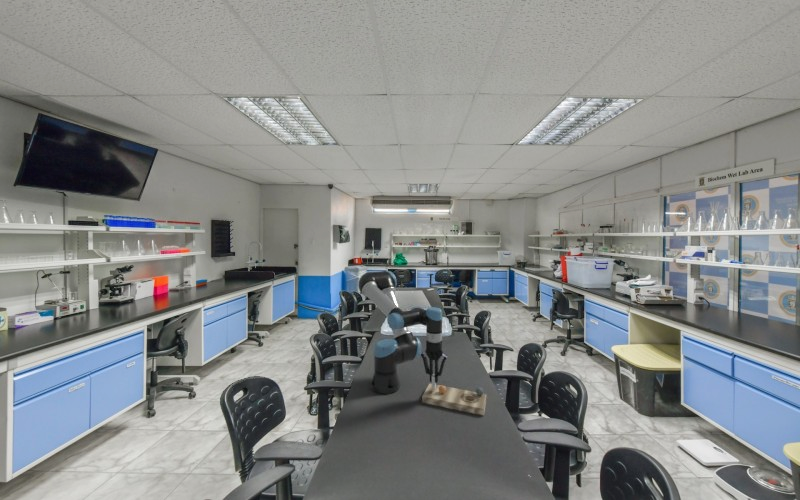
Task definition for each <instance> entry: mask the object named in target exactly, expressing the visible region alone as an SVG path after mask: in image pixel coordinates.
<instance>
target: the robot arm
mask: <svg viewBox="0 0 800 500" xmlns="http://www.w3.org/2000/svg"><path fill="white" fill-rule="evenodd" d="M397 285H398V283H397V277H396V275H395V274H394V272H393V271H389V270H381V271H370V272H369V271H368V272H366V273H364V274H363V275H361V276H360V278H359V280H358V285H357V286H358V290H359V292H360V293H361V294H362V295H363V296H364V297H367V298H368V299H369V301H371V302H372V303H373V304H374V305H375V306H376V307H377V309H378V310H379V311H381V313H383V315H385V317H386V318H387V324H388V327H389V328H390V329H391V331H392V334H393V338H385V339H381V340H378V341H377V342H376V343H375V346H374V351H373V357H374V360H373V361H374V362H373V363H374V364H373V365H374V368H373V369H374V372H373V375H372V378H371V381H370V389H371V391H373V392H374V393H377V394H381V395H389V394H393V393H396V392H398V391H399V390H400V388H401V381H400V380H401V379H400V378H399V375H398V371H397V370H398V369H397V368H398V365H401V364H404V363H406V362H410V361H411V362H412V361H414V360H416V359H418V358H419V357H421V358H422V362H423V366H424V371H425V374H426V375H429V382H430V383H431V384H432V390H435V388H436V385H437V383H438V381H439V377H441V376H442V375H443V370H444V367H445V363H446V360H447V358H448V355H445V354H444V352H443V341H442V340H443V311H442V309H441V308H440V307H435V306H433V307H432V306H431V307H427V308H426V309H425V308H422V307H419V306H418V307H417V306H414V307H412V308H410V310H402V309H401V307H400V305H399V302H398V299H397V296H396V293H395V292H396V289H397ZM417 325H422V326H426V331H425V332H426V333H425V334H426V336H425V337H426V341H425V345H426V347H425V351H422V343H421V340H420V338H418V337H417V336H415V335H414V334H413V332H412V331H410V330H409V328H408V327H413V326H417ZM427 357H428V358H427ZM440 358H441V360H442V361H441V363H440V366H439V360H440ZM428 359H429V360H428ZM428 362H429V363H428ZM439 367H440V368H439Z"/></svg>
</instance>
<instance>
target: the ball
mask: <svg viewBox="0 0 800 500" xmlns="http://www.w3.org/2000/svg"><path fill="white" fill-rule="evenodd" d="M445 391H446V388H445V385H443V384H441V386H439V392H440V393H445Z"/></svg>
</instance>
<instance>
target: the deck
mask: <svg viewBox="0 0 800 500" xmlns="http://www.w3.org/2000/svg"><path fill="white" fill-rule="evenodd" d="M441 385H442V384H441ZM441 385H440V384H436V388H435V390H432V383H431V382H430V383H428V386H427V387H426V389H425V390H424V392H423V394H422V397H421V399H422V400H421V402H422V403H423V404H428V405H433V406H436V407H437V406H438V407H442V408H446V409H451V410H455V411H460V412H465V413H470V414H474V415H479V416H484V417H485V411H486V404H487V393H483V395H481V396H479V395H477V393H476V391H473V390H467V389H463V388H462V389H460V388H456V387H452V386H451V387H450V386H447V385H446V386H445V385H444V386H445V388H446V391H445V393H440V392H439V386H441Z"/></svg>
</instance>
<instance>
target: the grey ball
mask: <svg viewBox="0 0 800 500" xmlns="http://www.w3.org/2000/svg"><path fill="white" fill-rule="evenodd" d="M475 392H476V393H477V395H479V396H481V395H483V394H484V389H483V388H482V387H477V388H476V390H475Z"/></svg>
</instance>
